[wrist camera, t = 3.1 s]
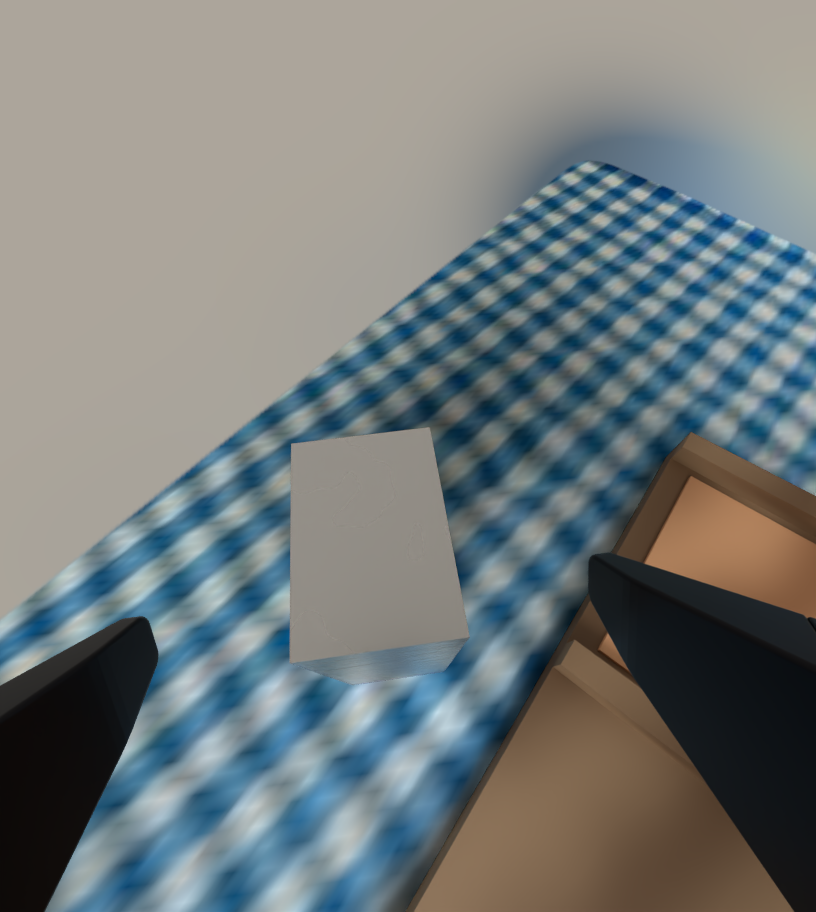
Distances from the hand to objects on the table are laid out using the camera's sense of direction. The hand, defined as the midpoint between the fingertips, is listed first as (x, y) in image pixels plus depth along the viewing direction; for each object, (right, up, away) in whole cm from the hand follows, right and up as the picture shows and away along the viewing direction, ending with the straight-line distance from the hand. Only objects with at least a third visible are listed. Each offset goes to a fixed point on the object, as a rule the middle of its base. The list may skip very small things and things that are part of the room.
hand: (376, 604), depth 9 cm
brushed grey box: (0, -3, +9) cm, 10 cm away
